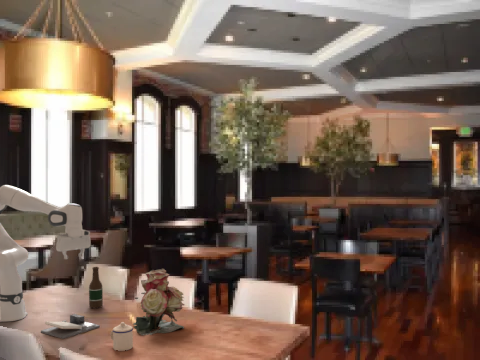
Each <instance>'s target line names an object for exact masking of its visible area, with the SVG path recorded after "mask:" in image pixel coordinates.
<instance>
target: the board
mask: <svg viewBox="0 0 480 360" xmlns="http://www.w3.org/2000/svg"><path fill="white" fill-rule="evenodd" d="M61 322H67V320H66V319H65V320H62V321H61ZM68 323H70V321H69V322H68ZM72 324H73V323H72ZM76 325H77V324H76ZM99 328H100V324H96V326H93V327H90V328H87V326H86V325H84V326H82V329H61V328H57V327H53V326H50V327H48V328H44V329H42V330H40V333H42V334H45V335H49V336H53V337H54V338H55V337H56V338H59V339H62V340H63V339H66V338H69V337H73V336H76V335H80V334H83V333H86V332H89V331H92V330H95V329H99Z"/></svg>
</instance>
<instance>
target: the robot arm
mask: <svg viewBox="0 0 480 360" xmlns="http://www.w3.org/2000/svg"><path fill="white" fill-rule="evenodd" d="M7 207H10V208H12V209H15V210H17V211H21V212H39V213H43V214H46V215H47V221H48V223H49V225H50V226H51V227H56V228H58V227H63V226H64V227H65V231H64V232H65V233H59V234H58V235H57V238H56V245H55V249H56V251H57V252H60V253H62V255H63V260H68V259H69V255H67V253H68V252H67V251H74V250H76V251H77V250H80V252H79V253H78V257H79V258H83V256H84V253H85V251H86V250H85V249H89V248H90V247H91V245H92V243H91V236H90V235H91V231H90V230H86V229H83V225H82V223H83V208H82V206H81V205H80V204H77V203H72V202H70V203H69V202H68V203H66V204H65V205H63V206H62V207H60V206H58V205H56V204H52V203H50V202H47V201H45V200H43V199H41V198H39V197H36V196H35V195H33V194H31V193H29V192H28V191H25V190H23V189H21V188H18V187H16V186H13V185H9V184H3V185H1V186H0V215H1V214H2V213H3V212H4V210H6V209H7ZM28 259H29V252H28V250H27V249H26V248H25V247H23V246H22V245H19V244H18V243H17V241H16V240H15V239H13V238H12V237H11V236H10V235H9V233H8V232H7V231H6V229H5V228H4V226H3V224H2V222H0V323H2V322H4V323H5V322H14V321H19V320H22V319H24V318H25V317H26V316H28V312H27V311H26V303H25V300H24V299H23V298H24V293H23V279H22V276H21V275H20V274H19V272H18V267H19V266H21V265H23V264H24V263H26V262H27V260H28Z"/></svg>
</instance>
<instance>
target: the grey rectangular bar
mask: <svg viewBox="0 0 480 360" xmlns="http://www.w3.org/2000/svg"><path fill="white" fill-rule="evenodd" d="M69 322H70V323H73V324H77V325H80V326H84V325H86V326H87V328H90V327H93V326H96V325H97V324H96V323H92V322H88V321H85V315H83V314H82V315H80V314H77V313H73V314H70V315H69Z"/></svg>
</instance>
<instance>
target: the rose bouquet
mask: <svg viewBox="0 0 480 360" xmlns="http://www.w3.org/2000/svg"><path fill="white" fill-rule="evenodd" d="M144 274H145V276H146V278H147V279H140V284H141V287H142V288H143V290H144V292H141V295H143V297H142V298H141V301H140V308H141V310H142V312H143V313H146V314H145V315H143V316H135V322H134V323H133V324H132V325H133V329H135V330H136V332H137V333H138V334H139V335H141V336H149V335H150V336H152V335H155V334H157V333H159V334H167V333H168V334H169V333H171V332H172V333H173V332H175V331H176V330H179V329H185V327H184V326H183V325H181V324H177V323H175V322H178V320H177V318H176V317H175V315H174V313H175V312H180V311H181V310H182V309H183V308H184V307H183V306H185V303H183V302H184V299H185V297H184V293H183V292H182V291H180V290H179V289H178V288H177V287H176V286H169V284H170V282H169V281H168V278H169V276H170V273H167V270H165V268H161V269H156V270H154V269H152V270H150V271H149V272H145V273H144ZM138 299H139V297H134V300H138ZM182 301H183V302H182ZM164 316H168V318H170V319H171V320H170V321H167V320H166V319H163V318H164ZM173 320H174V321H173ZM158 327H159V328H158Z"/></svg>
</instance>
